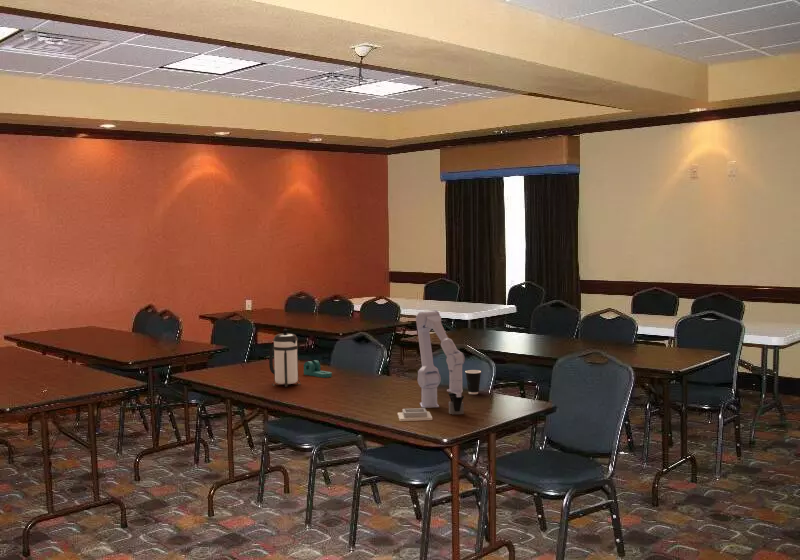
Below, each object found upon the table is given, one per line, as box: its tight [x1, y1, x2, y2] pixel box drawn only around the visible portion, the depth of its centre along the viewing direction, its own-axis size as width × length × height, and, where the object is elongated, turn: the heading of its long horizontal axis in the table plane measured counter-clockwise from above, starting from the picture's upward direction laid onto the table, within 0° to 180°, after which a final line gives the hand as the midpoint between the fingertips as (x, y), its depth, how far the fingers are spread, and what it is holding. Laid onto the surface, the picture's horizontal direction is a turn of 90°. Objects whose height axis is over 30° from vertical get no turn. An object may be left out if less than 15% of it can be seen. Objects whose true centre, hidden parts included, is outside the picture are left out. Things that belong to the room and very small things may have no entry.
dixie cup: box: [464, 369, 482, 395], centre depth 401 cm, size 8×8×11 cm
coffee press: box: [268, 328, 301, 388], centre depth 430 cm, size 17×16×30 cm
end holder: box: [397, 407, 433, 422], centre depth 353 cm, size 12×14×3 cm
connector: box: [448, 400, 465, 415], centre depth 359 cm, size 4×6×5 cm, turn 96°
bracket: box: [303, 359, 333, 379], centre depth 457 cm, size 18×7×8 cm, turn 48°
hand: (456, 410), depth 360 cm, fingers closed on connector, 4 cm apart
